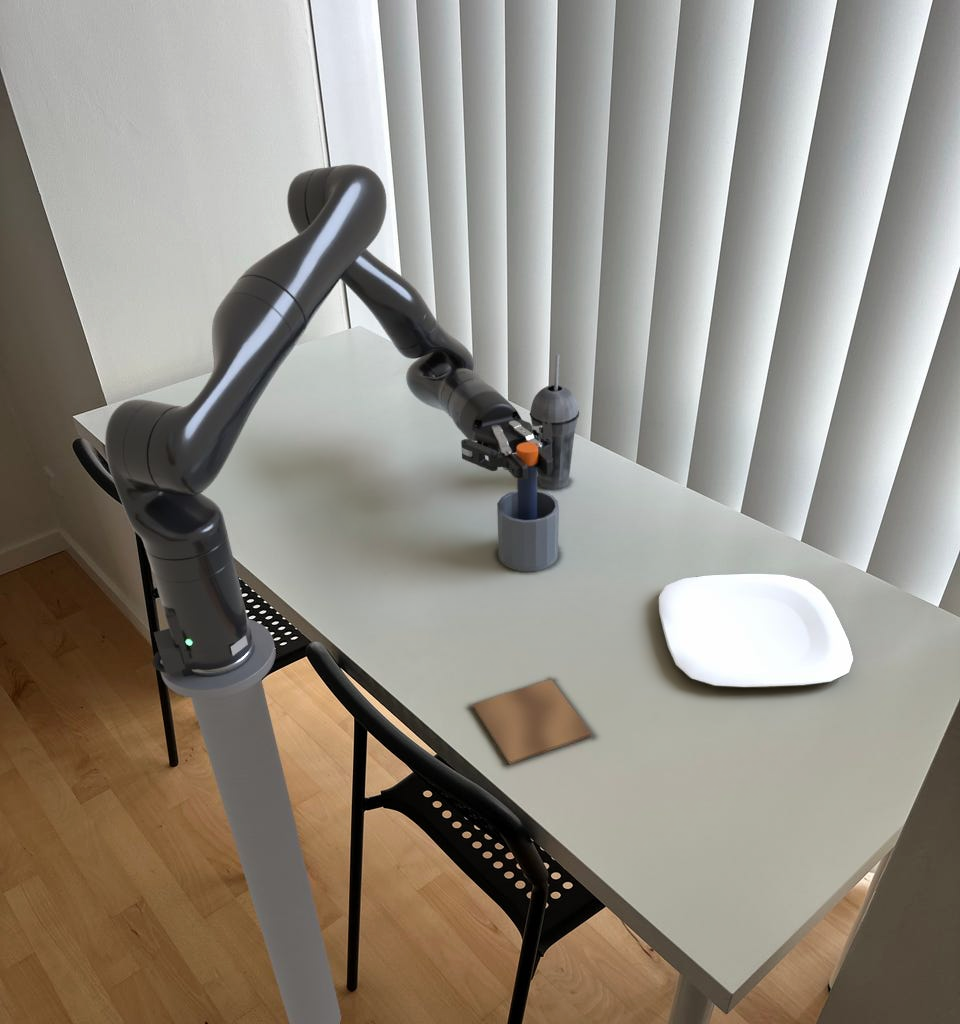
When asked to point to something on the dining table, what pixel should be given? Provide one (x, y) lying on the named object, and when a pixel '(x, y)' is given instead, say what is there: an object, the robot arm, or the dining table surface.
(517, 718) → the mat
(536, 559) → the pot
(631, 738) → the dining table surface
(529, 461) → the marker
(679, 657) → the plate
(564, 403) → the beverage cup
